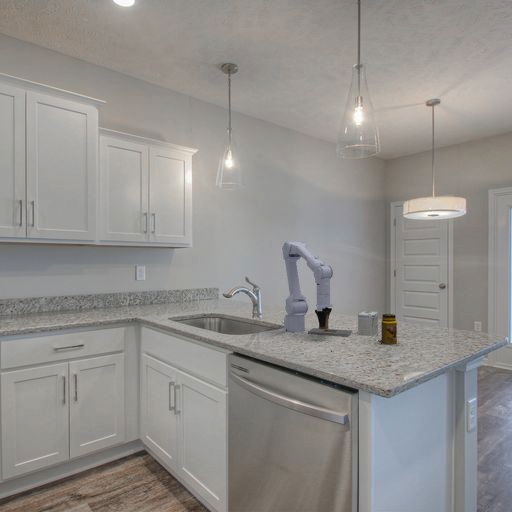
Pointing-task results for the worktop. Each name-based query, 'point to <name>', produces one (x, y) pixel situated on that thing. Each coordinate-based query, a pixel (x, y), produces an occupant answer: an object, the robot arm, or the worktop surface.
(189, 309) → the worktop surface
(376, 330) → the light bulb box
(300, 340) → the worktop surface
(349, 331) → the hole plate
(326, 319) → the peg
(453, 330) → the worktop surface
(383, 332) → the condiment
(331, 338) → the pad
